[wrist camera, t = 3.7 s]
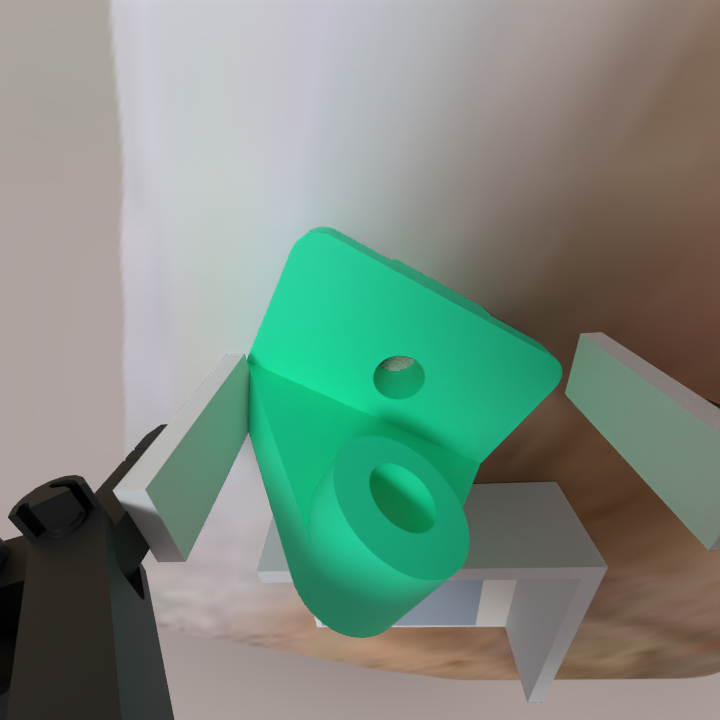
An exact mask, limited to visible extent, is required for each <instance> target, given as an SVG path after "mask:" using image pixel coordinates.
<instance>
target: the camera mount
mask: <svg viewBox="0 0 720 720" xmlns="http://www.w3.org/2000/svg"><path fill="white" fill-rule="evenodd" d="M393 356H407V357H410V358H413V359H414V360H415V361H414V362H413V363H412V364H411V365H410V366H409V367H407V368H406V369H403V370H400V371H389V370H386V369H384V368H382V367H381V366H379V364H380V363H381V362H382V361H384V360H385V359H387V358H390V357H393ZM247 365H248V368H249V405H248V431H249V435H250V438H251V441H252V445H253V448H254V452H255V455H256V458H257V462H258V465H259V469H260V472H261V475H262V479H263V482H264V486H265V489H266V492H267V496H268V499H269V503H270V506H271V509H272V513H273V516H274V520H275V523H276V526H277V530H278V533H279V537H280V540H281V543H282V547H283V550H284V554H285V557H286V560H287V564H288V567H289V571H290V574H291V577H292V580H293V583H294V585H295V588H296V590H297V592H298V594H299V596H300V597H301V599H302V601H303V602H304V604H305V605H306V606H307V608H308V609H309V610H310V611H311V613H312V614H313V615H314V616H315V617H316V618H317V619H318V620H320V621H321V622H322V623H323V624H325V625H326V626H327V627H329V628H330V629H332V630H334V631H336V632H338V633H341V634H343V635H346V636H351V637H358V638H365V637H371V636H375V635H378V634H380V633H382V632H384V631H386V630H387V629H389V628H390V627H391V626H392V625H393V624H395V623H396V622H397V621H398V620H399V619H401V618H402V617H403V616H404V615H406V614H407V613H408V612H409V611H410V610H412V609H413V608H414V607H415V606H416V605H418V604H419V603H420V602H421V601H423V600H424V599H425V598H426V597H427V596H429V595H430V594H431V593H432V592H433V591H435V590H436V589H437V588H438V587H440V586H441V585H442V584H443V583H444V582H446V581H447V580H448V579H449V578H450V577H452V576H453V575H454V574H455V573H456V572H457V571H459V570H460V568H461V567H462V566H463V564H464V562H465V560H466V558H467V555H468V551H469V530H468V524H467V521H466V517H465V514H464V511H463V509H462V508H463V506H464V503H465V501H466V498H467V496H468V493H469V491H470V488H471V486H472V484H473V481H474V479H475V476H476V474H477V471H478V469H479V466H480V464H481V463H482V462H483V461H484V460H485V459H486V458H487V457H488V456H489V455H490V454H491V453H492V452H493V451H494V450H495V448H496V447H497V446H498V445H499V444H500V443H501V442H502V441H503V440H504V439H505V438H506V437H507V436H508V435H509V434H510V433H511V432H512V431H513V430H514V429H515V428H516V427H517V426H518V425H519V424H520V423H521V422H522V421H523V420H524V419H525V418H526V417H527V416H528V415H529V414H530V413H531V412H532V411H533V410H534V409H535V408H536V407H537V406H538V405H539V404H540V403H541V402H542V401H543V400H544V399H545V398H546V397H547V396H548V395H549V394H550V393H551V392H552V391H553V390H554V389H555V388H556V386H557V385H558V384H559V382H560V380H561V377H562V367H561V364H560V363H559V361H558V360H557V359H556V358H555V357H554V356H552V355H551V354H550V353H549V352H548V351H547V350H546V349H545V348H544V347H543V346H542V345H541V344H540V343H539V342H537V341H536V340H534V339H532V338H530V337H528V336H527V335H525V334H523V333H521V332H519V331H518V330H516V329H514V328H512V327H510V326H508V325H507V324H505V323H503V322H501V321H499V320H498V319H496V318H494V317H492V316H490V314H489V313H488V312H487V311H486V310H485V309H484V308H483V307H481V306H479V305H477V304H476V303H474V302H472V301H470V300H468V299H467V298H465V297H463V296H461V295H459V294H458V293H456V292H454V291H452V290H450V289H449V288H447V287H445V286H443V285H441V284H440V283H438V282H436V281H434V280H432V279H431V278H429V277H427V276H425V275H423V274H422V273H420V272H418V271H416V270H414V269H413V268H411V267H409V266H407V265H405V264H404V263H402V262H400V261H398V260H396V259H395V258H394V259H393V261H391V260H389V259H387V258H385V257H384V256H382V255H380V254H378V253H376V252H375V251H373V250H371V249H369V248H367V247H366V246H364V245H362V244H360V243H358V242H356V241H355V240H353V239H351V238H349V237H347V236H346V235H344V234H342V233H340V232H338V231H337V230H335V229H332V228H328V227H319V228H315V229H313V230H311V231H309V232H308V233H306V234H305V235H304V236H303V237H301V238H300V239H299V240H298V241H297V242H296V243H295V244H294V246H293V248H292V250H291V252H290V255H289V257H288V259H287V262H286V264H285V267H284V269H283V272H282V274H281V277H280V279H279V282H278V284H277V287H276V289H275V292H274V294H273V297H272V299H271V301H270V304H269V306H268V309H267V311H266V314H265V316H264V319H263V321H262V324H261V326H260V329H259V331H258V334H257V336H256V339H255V341H254V344H253V346H252V348H251V351H250V353H249V356H248V358H247Z"/></svg>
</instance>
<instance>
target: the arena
mask: <svg viewBox="0 0 720 720" xmlns="http://www.w3.org/2000/svg"><path fill="white" fill-rule="evenodd" d="M462 509H463V511H464V514H465V517H466V521H467V524H468V530H469V551H468V555H467V558H466V560H465V562H464V564H463V566H462V567H461V568H460V570H459V571H457V572H456V573H455V574H454V575H453V576H452V577H450V578H449V579H448V580H447V581H446V582H444V583H443V584H442V585H441V586H440V587H438V588H437V589H436V590H435V591H433V592H432V593H431V594H430V595H429V596H427V597H426V598H425V599H424V600H423V601H421V602H420V603H419V604H418V605H416V606H415V607H414V608H413V609H412V610H410V611H409V612H408V613H407V614H406V615H404V616H403V617H402V618H401V619H399V620H398V621H397V622H396V623H395V624H393V625H392V626H391V627H505V629H506V632H507V636H508V639H509V642H510V646H511V649H512V652H513V656H514V659H515V662H516V666H517V669H518V672H519V676H520V679H521V682H522V686H523V689H524V692H525V696H526V699H527V702H528V703H542V702H543V700H544V698H545V696H546V694H547V691H548V690H549V688H550V686H551V683H552V681H553V679H554V677H555V675H556V673H557V671H558V669H559V667H560V665H561V663H562V661H563V659H564V657H565V655H566V653H567V651H568V649H569V646H570V644H571V642H572V640H573V638H574V636H575V634H576V632H577V630H578V628H579V626H580V624H581V622H582V620H583V618H584V616H585V614H586V612H587V609H588V607H589V605H590V603H591V601H592V599H593V597H594V595H595V593H596V591H597V589H598V587H599V585H600V583H601V581H602V579H603V577H604V575H605V572H606V570H607V568H608V566H607V564H606V562H605V561H604V559H603V558H602V556H601V554H600V553H599V551H598V549H597V548H596V546H595V544H594V543H593V541H592V540H591V538H590V536H589V535H588V533H587V531H586V530H585V528H584V526H583V525H582V523H581V522H580V520H579V518H578V517H577V515H576V513H575V512H574V510H573V509H572V507H571V505H570V504H569V502H568V500H567V499H566V497H565V495H564V494H563V492H562V491H561V489H560V487H559V486H558V484H557V482H525V483H491V484H472V486H471V488H470V491H469V493H468V496H467V498H466V501H465V503H464V506H463V508H462ZM256 572H257V574H258V577H259V579H260V582H261V583H266V582H293V580H292V577H291V574H290V571H289V567H288V564H287V560H286V557H285V554H284V550H283V547H282V543H281V540H280V537H279V533H278V530H277V526H276V523H275V520H274V516H273V517H272V520H271V524H270V527H269V531H268V534H267V537H266V541H265V544H264V548H263V551H262V554H261V558H260V561H259V565H258V568H257V571H256ZM314 617H315V616H314ZM315 621H316V624H317V627H327V626H326V625H325V624H323V623H322V622H321V621H320V620H318V619H317V618H316V617H315Z"/></svg>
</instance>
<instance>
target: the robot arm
mask: <svg viewBox="0 0 720 720" xmlns="http://www.w3.org/2000/svg"><path fill="white" fill-rule="evenodd" d="M565 395H566V396H567V397H568V398H569V399H570V400H571V401H572V402H573V403H574V405H575V406H576V407H577V408H578V409H579V410H580V411H581V412H582V413H583V414H584V415H585V417H586V418H587V419H588V420H589V421H590V422H591V423H592V424H593V425H594V426H595V427H596V429H597V430H598V431H599V432H600V433H601V434H602V435H603V436H604V437H605V438H606V439H607V441H608V442H609V443H610V444H611V445H612V446H613V447H614V448H615V449H616V450H617V451H618V453H619V454H620V455H621V456H622V457H623V458H624V459H625V460H626V461H627V462H628V463H629V465H630V466H631V467H632V468H633V469H634V470H635V471H636V472H637V473H638V474H639V475H640V477H641V478H642V479H643V480H644V481H645V482H646V483H647V484H648V485H649V486H650V487H651V489H652V490H653V491H654V492H655V493H656V494H657V495H658V496H659V497H660V498H661V499H662V501H663V502H664V503H665V504H666V505H667V506H668V507H669V508H670V509H671V510H672V511H673V513H674V514H675V515H676V516H677V517H678V518H679V519H680V520H681V521H682V522H683V523H684V525H685V526H686V527H687V528H688V529H689V530H690V531H691V532H692V533H693V534H694V535H695V537H696V538H697V539H698V540H699V541H700V542H701V543H702V544H703V545H704V546H705V547H706V549H707V550H708V551H720V405H719V404H717V403H715V402H712V401H710V400H708V399H705V398H702V397H701V396H699V395H697V394H696V393H694V392H693V391H691V390H690V389H688V388H687V387H685V386H684V385H682V384H681V383H679V382H677V381H676V380H674V379H673V378H671V377H670V376H668V375H667V374H665V373H664V372H662V371H661V370H659V369H657V368H656V367H654V366H653V365H651V364H650V363H648V362H647V361H645V360H644V359H642V358H641V357H639V356H637V355H636V354H634V353H633V352H631V351H630V350H628V349H627V348H625V347H624V346H622V345H621V344H619V343H617V342H616V341H614V340H613V339H611V338H610V337H608V336H607V335H605V334H604V333H602V332H596V333H580V337H579V341H578V345H577V349H576V352H575V356H574V360H573V364H572V368H571V372H570V376H569V379H568V383H567V387H566V391H565ZM248 405H249V368H248V365H247V361H246V357H245V354H231V355H225V357H224V358H223V359H222V360H221V361H220V363H219V364H218V365H217V366H216V367H215V369H214V370H213V371H212V372H211V373H210V375H209V376H208V377H207V378H206V379H205V381H204V382H203V383H202V384H201V385H200V387H199V388H198V389H197V390H196V391H195V393H194V394H193V395H192V396H191V397H190V399H189V400H188V401H187V402H186V403H185V405H184V406H183V407H182V408H181V409H180V411H179V412H178V413H177V414H176V415H175V417H174V418H173V419H172V420H171V421H170V423H169V424H164V425H160V426H159V427H157V428H156V429H154V430H153V431H152V432H150V433H149V434H147V435H146V436H145V437H144V438H143V439H142V440H141V442H140V443H139V444H138V445H137V446H136V447H135V450H134V451H132V452H131V453H130V454H129V455H128V456H127V457H126V458H125V459H126V460H125V461H123V462H122V463H121V464H120V465H119V467H118V468H117V469H116V470H115V471H114V472H113V473H112V475H110V477H109V478H108V479H107V480H106V481H105V482H104V483H103V484H102V486H101V487H100V488H99V489H98V490H97V491H96V492H95V494H94V493H93V491H92V490H91V488H90V487H89V485H88V484H87V482H86V481H85V479H84V478H83V477H81V476H77V475H72V476H64V477H61V478H58V479H55V480H52V481H50V482H47V483H46V484H44V485H41V486H40V487H38V488H36V489H34V490H33V491H32V492H30V493H29V494H27V495H26V496H25V497H23V498H22V499H21V500H20V501H19V502H18V503H17V504H16V505H15V506H14V507H13V508H12V510H11V512H10V514H9V516H8V518H9V519H10V520H11V521H12V523H13V524H14V525H15V526H16V527H17V528H18V529H19V530H20V531H21V532H22V534H23V536H19V537H16V538H12V539H9V540H6V541H3V540H2V539H1V538H0V720H174V716H173V711H172V705H171V700H170V695H169V690H168V685H167V679H166V675H165V669H164V664H163V659H162V653H161V649H160V643H159V638H158V633H157V627H156V622H155V617H154V612H153V607H152V601H151V596H150V591H149V586H148V581H147V576H146V570H145V569H144V567H143V565H142V564H141V562H142V560H143V559H144V557H145V555H146V554H147V552H148V550H149V549H150V550H151V552H152V554H153V555H154V557H155V558H156V560H157V561H158V562H186V560H187V558H188V556H189V554H190V552H191V550H192V548H193V545H194V543H195V541H196V539H197V537H198V535H199V533H200V531H201V529H202V527H203V525H204V523H205V521H206V519H207V517H208V515H209V513H210V511H211V508H212V506H213V504H214V502H215V500H216V498H217V496H218V494H219V492H220V490H221V488H222V486H223V484H224V482H225V480H226V478H227V476H228V473H229V471H230V469H231V467H232V465H233V463H234V461H235V459H236V457H237V455H238V453H239V451H240V449H241V447H242V445H243V443H244V441H245V439H246V436H247V434H248V432H249V431H248Z"/></svg>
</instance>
